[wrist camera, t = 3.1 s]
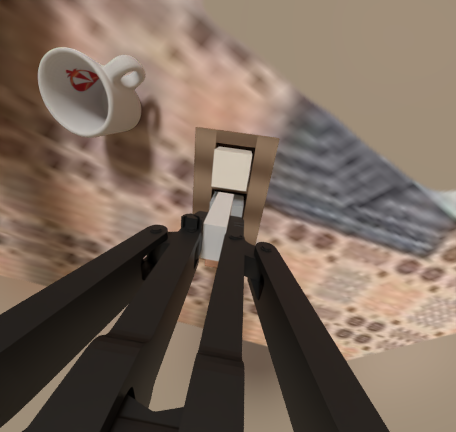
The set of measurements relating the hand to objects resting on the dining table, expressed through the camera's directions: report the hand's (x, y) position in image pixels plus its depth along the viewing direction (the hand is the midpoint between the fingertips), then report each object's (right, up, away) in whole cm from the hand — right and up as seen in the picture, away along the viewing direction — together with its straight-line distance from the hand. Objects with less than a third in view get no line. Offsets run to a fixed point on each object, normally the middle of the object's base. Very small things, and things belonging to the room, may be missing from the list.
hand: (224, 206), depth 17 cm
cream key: (+1, +6, +8) cm, 10 cm away
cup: (-14, +16, +8) cm, 22 cm away
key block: (+1, +2, +13) cm, 13 cm away
